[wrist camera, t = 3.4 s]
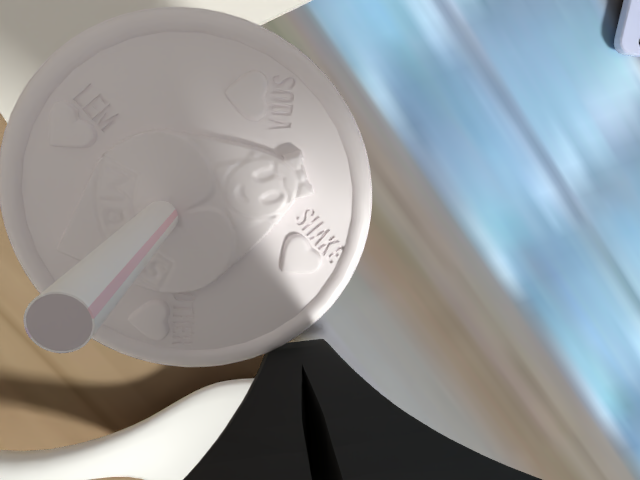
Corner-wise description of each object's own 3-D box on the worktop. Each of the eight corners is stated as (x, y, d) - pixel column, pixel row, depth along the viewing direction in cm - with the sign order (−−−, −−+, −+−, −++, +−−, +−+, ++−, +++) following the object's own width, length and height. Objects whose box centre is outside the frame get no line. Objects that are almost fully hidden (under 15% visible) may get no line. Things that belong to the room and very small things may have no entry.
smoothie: (109, 93, 16) (-584, -1, 3) (287, 41, 17) (403, -265, 3) (176, 261, 18) (-62, 683, 5) (335, 212, 18) (539, 478, 5)
